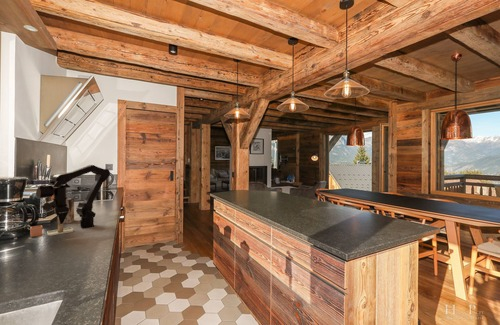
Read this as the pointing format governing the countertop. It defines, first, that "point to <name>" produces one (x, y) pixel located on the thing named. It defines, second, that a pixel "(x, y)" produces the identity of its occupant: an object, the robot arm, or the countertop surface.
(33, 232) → the orange open box
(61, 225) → the pin
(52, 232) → the tray
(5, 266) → the countertop surface
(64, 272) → the countertop surface
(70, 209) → the coffee box
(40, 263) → the countertop surface
